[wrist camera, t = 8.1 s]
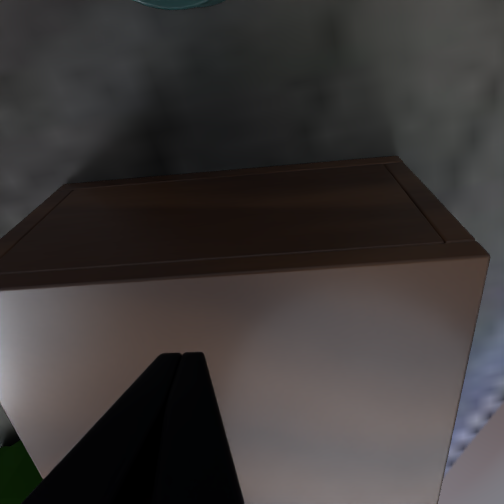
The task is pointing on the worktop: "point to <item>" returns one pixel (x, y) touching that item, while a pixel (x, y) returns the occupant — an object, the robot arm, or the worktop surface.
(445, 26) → the worktop surface
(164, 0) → the tea tin
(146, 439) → the robot arm
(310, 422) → the cabinet
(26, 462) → the bell pepper
